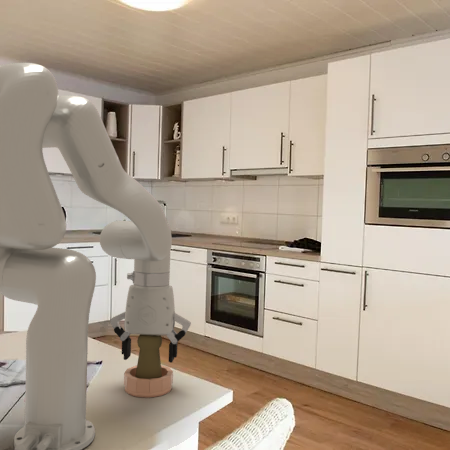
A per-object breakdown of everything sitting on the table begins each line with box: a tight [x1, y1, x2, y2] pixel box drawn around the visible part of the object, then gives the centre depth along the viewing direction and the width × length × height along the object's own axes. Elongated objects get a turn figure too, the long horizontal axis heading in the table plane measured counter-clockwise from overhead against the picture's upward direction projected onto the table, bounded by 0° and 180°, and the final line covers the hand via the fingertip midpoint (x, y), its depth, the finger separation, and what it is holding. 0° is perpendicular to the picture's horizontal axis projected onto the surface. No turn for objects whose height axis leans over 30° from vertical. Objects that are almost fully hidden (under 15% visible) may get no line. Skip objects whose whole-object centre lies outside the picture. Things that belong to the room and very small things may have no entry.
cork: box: [135, 334, 163, 379], centre depth 101 cm, size 6×6×11 cm
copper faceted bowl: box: [123, 364, 174, 399], centre depth 102 cm, size 10×10×4 cm
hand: (149, 359), depth 102 cm, fingers open, 9 cm apart
